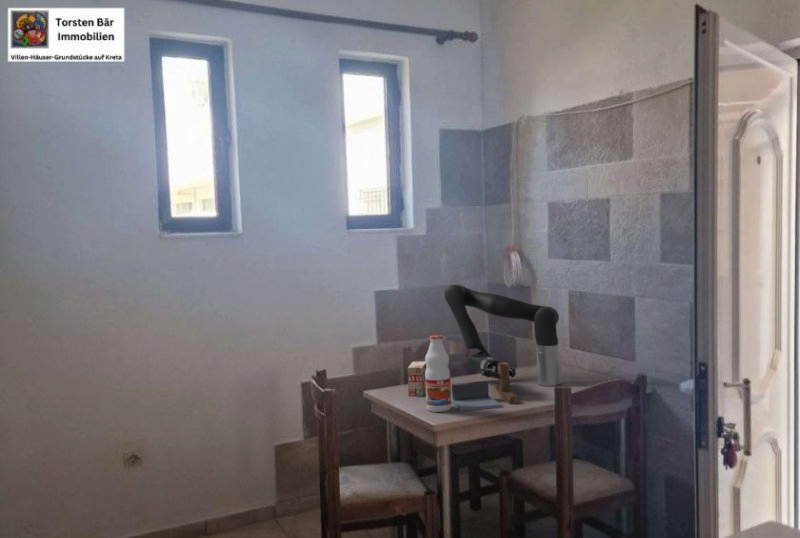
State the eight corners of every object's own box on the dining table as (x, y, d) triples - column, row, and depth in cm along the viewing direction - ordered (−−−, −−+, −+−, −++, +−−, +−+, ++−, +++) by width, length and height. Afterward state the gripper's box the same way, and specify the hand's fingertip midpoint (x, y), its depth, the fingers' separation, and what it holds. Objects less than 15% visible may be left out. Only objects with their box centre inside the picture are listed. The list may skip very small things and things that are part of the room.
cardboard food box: (417, 384, 279) (416, 357, 278) (431, 384, 277) (429, 357, 277) (408, 396, 258) (407, 367, 257) (423, 396, 256) (422, 367, 256)
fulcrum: (479, 391, 260) (479, 375, 260) (501, 407, 235) (500, 388, 234) (442, 394, 257) (442, 378, 257) (460, 410, 232) (459, 392, 231)
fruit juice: (449, 405, 240) (447, 333, 239) (452, 411, 231) (450, 336, 230) (425, 406, 240) (422, 334, 239) (427, 413, 230) (424, 338, 229)
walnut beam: (499, 392, 259) (498, 358, 258) (517, 403, 239) (516, 367, 238) (491, 392, 258) (490, 359, 257) (509, 404, 238) (508, 368, 238)
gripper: (474, 359, 261) (488, 367, 244) (507, 357, 263) (522, 364, 247) (475, 377, 261) (488, 386, 244) (508, 374, 264) (523, 383, 247)
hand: (505, 375), depth 246 cm, fingers open, 5 cm apart
